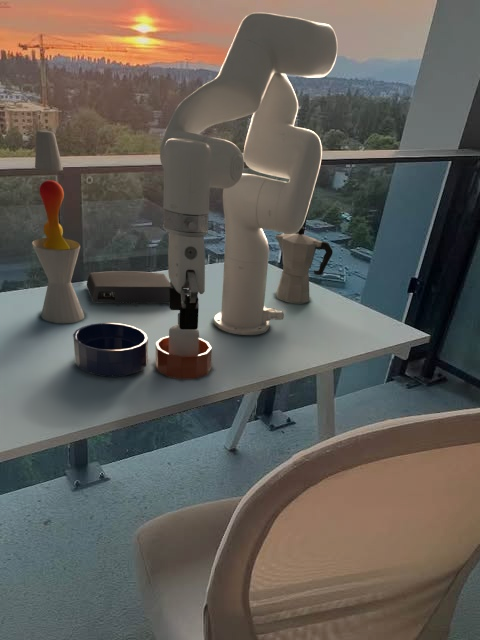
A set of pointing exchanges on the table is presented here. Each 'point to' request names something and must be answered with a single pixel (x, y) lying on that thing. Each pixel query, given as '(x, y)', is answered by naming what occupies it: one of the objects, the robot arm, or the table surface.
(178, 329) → the eye dropper bottle
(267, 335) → the table surface
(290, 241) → the coffeepot
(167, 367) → the brown round container
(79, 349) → the bowl
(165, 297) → the hard drive
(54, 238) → the lava lamp
